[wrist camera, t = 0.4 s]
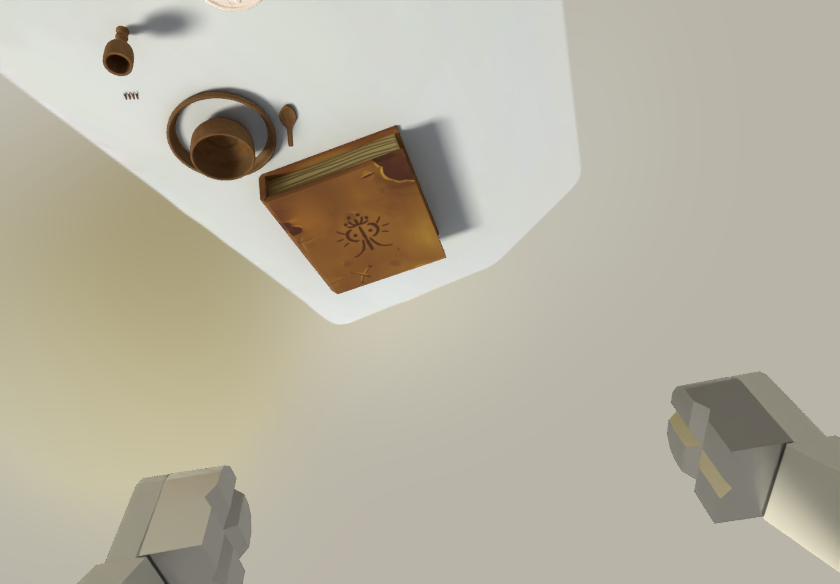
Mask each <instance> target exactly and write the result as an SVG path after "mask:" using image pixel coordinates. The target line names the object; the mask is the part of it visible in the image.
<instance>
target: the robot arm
mask: <svg viewBox="0 0 840 584" xmlns="http://www.w3.org/2000/svg"><path fill="white" fill-rule="evenodd" d="M671 403H672V405H673V406H674V408H675V409H676V413H675V414H674V415H673V416H672V417H671V418H670V419H669V421H668V431H667V435H668V440H669V445H670V449H671V452H672V454H673V456H674V459H675V461H676V462H677V464H678V466H679V467H680V469H681V471H683V472H684V473H686V474H688V475H689V476H691V477H693V478H695V479H696V485H695V491H694V492H695V493H696V495H697V496H698V498H699V500H700V501H701V503H702V504H703V506H704V508H705V509H706V511H707V512H708V514H709V515H710V517H711V519H712V520H713V522H714V523H721V522H728V521H735V520H742V519H748V518H755V517H762V516H764V518H763V519H764V520H766V521H767V522H769V523H770V524H771V525H773V526H774V527H776V528H777V529H779V530H780V531H781V532H783V533H784V534H786V535H787V536H788V537H790V538H791V539H793V540H794V541H795V542H797V543H798V544H800V545H801V546H803V547H804V548H805V549H807V550H808V551H810V552H811V553H813V554H814V555H816V556H817V557H818V558H820V559H821V560H823V561H824V562H826V563H827V564H828V565H830V566H831V567H833V568H834V569H835V570H837V571H838V572H840V437H837V436H830V437H826V436H825V435H824V434H823V433H822V431H821V430H820V429H819V428H818V427H817V426H816V425H815V424H814V423H813V422H812V421H811V420H810V419H809V418H808V417H807V416H806V415H805V414H804V413H803V412H802V411H801V410H800V409H799V408H798V407H797V406H796V405H795V403H793V401H792V400H791V399H790V398H789V397H788V396H787V395H786V394H785V393H784V392H783V391H782V390H781V389H780V388H779V387H778V386H777V385H776V384H775V383H774V382H773V381H772V380H771V379H770V378H769V377H768V376H767V375H766V374H764V373H762V372H754V373H748V374H743V375H737V376H732V377H725V378H720V379H714V380H709V381H704V382H699V383H693V384H687V385H682V386H677V387H676V388H675V390H674V391H673V393H672V400H671ZM235 483H236V476H235V475H234V473H233V471H232V469H231V467H230V466H219V467H213V468H205V469H198V470H192V471H185V472H178V473H171V474H168V475H162V476H154V477H148V478H143V479H142V480H141V481H140V482H139V483H138V484H137V485H136V487H135V489H134V492H133V494H132V497H131V499H130V502H129V504H128V507H127V509H126V512H125V514H124V517H123V519H122V521H121V524H120V526H119V529H118V531H117V534H116V537H115V539H114V541H113V544H112V546H111V549H110V551H109V554H108V556H107V559H106V561H105V563H104V564H100V565H96V566H95V567H94V568H93V569H92V570H91V571H90V572H89V573H88V574H86V576H85V577H83V579H82V580H80V581H79V582H78V583H77V584H243V579H244V573H245V570H244V568H243V566H242V564H241V562H240V560H239V559H240V557H241V556H242V555H243V554H244V552H245V551H246V550H247V549H248V547H249V544H250V537H251V514H250V509H249V505H248V502H247V500H246V498H245V495H244V494H243V493H241V492H239V491H237V490H235V489H234V487H235Z"/></svg>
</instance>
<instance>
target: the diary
mask: <svg viewBox="0 0 840 584" xmlns="http://www.w3.org/2000/svg"><path fill="white" fill-rule="evenodd" d="M259 188H260V200H261V201H262V202H263V204H264V205H265V206H266V207H267V209H268V210H269V211H270V212H271V214H272V215H273V216H274V218H275V219H276V220H277V221H278V223H279V224H280V225H281V226H282V228H283V229H284V230H285V231H286V233H287V234H288V235H289V237H290V238H291V239H292V240H293V242H294V243H295V244H296V245H297V247H298V248H299V249H300V251H301V252H302V253H303V254H304V256H305V257H306V258H307V259H308V261H309V262H310V263H311V264H312V266H313V267H314V268H315V270H316V271H317V272H318V273H319V275H320V276H321V277H322V278H323V280H324V281H325V282H326V284H327V285H328V286H329V287H330V289H331V290H332V291H333V292H335V293H337V294H340V293H343V292H346V291H349V290H352V289H355V288H358V287H361V286H364V285H367V284H369V283H372V282H375V281H378V280H381V279H384V278H387V277H390V276H393V275H396V274H399V273H402V272H405V271H408V270H411V269H414V268H417V267H420V266H423V265H426V264H429V263H432V262H435V261H438V260H441V259H444V258H446V255H445V252H444V250H443V247H442V245H441V242H440V240H439V237H438V235H439V232H438V229H437V227H436V224H435V222H434V219H433V217H432V214H431V212H430V209H429V207H428V204H427V202H426V199H425V197H424V194H423V192H422V189H421V187H420V184H419V182H418V179H417V177H416V174H415V172H414V169H413V167H412V164H411V162H410V159H409V157H408V154H407V152H406V149H405V147H404V144H403V142H402V139H401V137H400V134H399V132H398V129H397V127H396V125H395V126H393V127H390V128H387V129H385V130H382V131H379V132H376V133H374V134H371V135H368V136H365V137H363V138H360V139H357V140H355V141H352V142H349V143H346V144H344V145H341V146H338V147H336V148H333V149H330V150H327V151H325V152H322V153H319V154H317V155H314V156H311V157H308V158H306V159H303V160H300V161H297V162H295V163H292V164H289V165H287V166H284V167H281V168H278V169H276V170H273V171H270V172H268V173H265V174H262V175H261V176H260V177H259Z"/></svg>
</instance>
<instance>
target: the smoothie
mask: <svg viewBox="0 0 840 584" xmlns="http://www.w3.org/2000/svg"><path fill="white" fill-rule="evenodd" d="M204 1H206V2H207V3H209V4H210V5H212V6H214V7H216V8H219V9H222V10H226V11H244V10H248V9H250V8H252V7H254V6H256V5H257V4H259V3H260V2H261V1H262V0H204Z"/></svg>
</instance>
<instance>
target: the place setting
mask: <svg viewBox="0 0 840 584" xmlns="http://www.w3.org/2000/svg"><path fill="white" fill-rule="evenodd" d="M116 32H117V33H116V35H115V38H116V39H113V40H111V41H109V42H108V43H107V45H106V47H105V50H104V55H103V64H104V67H105V68H106V69H107V70H108V71H109V72H110V73H112V74H114V75H118V76H126V75H128V74H130V73H131V71H132V69H133V63H134V53H133V50H132V48H131V46H130V45H129V44H128V43H127V41H128V35H129V30H128V29H127V28H126V27H124V26H118V27H117V28H116ZM127 94H128V93H127ZM131 94H132V93H131ZM135 95H136V97H137V99H139V98H138V96H137V94H136V93H135ZM124 96H125V98H126V100H127V97H126V95H125V94H124ZM128 96H129V99H130V100H131V97H130V95H129V94H128ZM132 97H133V99H135V98H134V96H133V94H132ZM211 98H222V99H230V100H234V101H237V102H240V103H243V104H245V105H247V106H249V107H251V108H253V109H254V110H255V111H257V112H258V113H259V114H260V115H261V116H262V118H263V119H264V121H265V123H266V126H267V129H268V140H267V144H266V146H265V148H264V149H263V151H262V152H261V153H260V154H259V155H258V156H257V157H256V158H255V147H254V142H253V139H252V137H251V135H250V133H249V132H248V131H247V129H246V128H245V127H243V126H242V125H241V124H239V123H237V122H235V121H233V120H230V119H224V118H216V119H210V120H207V121H205V122H203V123H202V124H200V125H199V126H198V127H197V128H196V129H195V131H194V133H193V135H192V138H191V146H190V154H189V153H188V152H187V151H186V150H185V149H184V148H183V147H182V145H181V144H180V142H179V140H178V138H177V135H176V131H175V125H176V120H177V117H178V115H179V113H180V112H181V110H182V109H183V108H184V107H186V106H187V105H189V104H191V103H193V102H196V101H199V100H204V99H211ZM280 120H281V122H282V124H283V125H284V126H285V127H286V129H287V133H288V145H289V146H293V140H292V126H293V125H294V123H295V121H296V114H295V112H294V110H293V109H292V108H291V107H290V106H284V107H283V108H282V109H281V112H280ZM167 140H168V144H169V146H170V148H171V150H172V152H173V153H174V154H175V156H176V157H177V158H178V159H179V160H180V161H181V162H182V163H183V164H185V165H186V166H187V167H189V168H191V169H192V170H194V171H197V172H199V173H201V174H204V175H205V176H207V177H210V178H213V179H216V180H235V179H238V178H241V177H243V176H245V175H248V174H251V173H253V172H256V171H257V170H259V169H261V168H262V167H263V166H264V165H265V164H266V163H267V162H268V161H269V160H270V159H271V157H272V155H273V153H274V151H275V147H276V135H275V130H274V127H273V125H272V122H271V121H270V119H269V117H268V116H267V115H266V113H265V112H264V111H263V110H262V109H261V108H260V107H258V106H257V105H256V104H254V103H253V102H251V101H250V100H248V99H246V98H243V97H241V96H238V95H235V94H231V93H225V92H206V93H201V94H198V95H195V96H192V97H190V98H188V99H186V100H185V101H183V102H182V103H180V104H179V105H178V106H177V107H176V108H175V110H174V111H173V112H172V114H171V116H170V118H169V121H168V124H167Z"/></svg>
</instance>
